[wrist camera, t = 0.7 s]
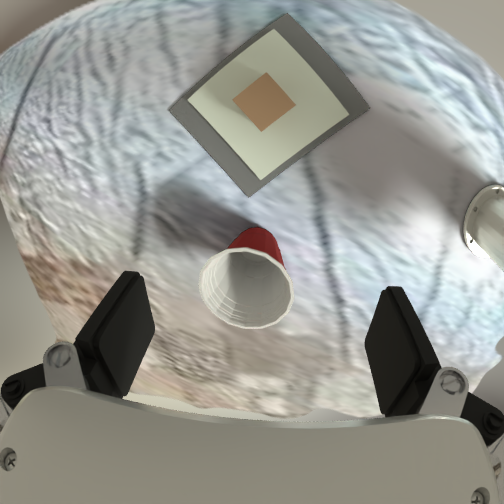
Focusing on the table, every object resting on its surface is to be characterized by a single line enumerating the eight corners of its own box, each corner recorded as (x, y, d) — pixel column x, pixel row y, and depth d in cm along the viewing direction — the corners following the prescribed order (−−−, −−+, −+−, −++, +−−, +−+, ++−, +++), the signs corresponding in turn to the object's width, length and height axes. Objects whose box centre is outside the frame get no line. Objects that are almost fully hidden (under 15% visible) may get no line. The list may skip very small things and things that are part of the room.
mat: (287, 14, 26) (287, 12, 26) (369, 108, 31) (370, 108, 30) (170, 110, 34) (169, 110, 33) (249, 196, 39) (248, 197, 38)
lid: (274, 30, 27) (271, 14, 21) (347, 114, 31) (361, 116, 25) (189, 99, 32) (169, 99, 26) (261, 178, 37) (255, 194, 31)
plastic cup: (235, 196, 39) (215, 233, 28) (306, 229, 40) (313, 276, 29) (208, 258, 44) (185, 308, 33) (272, 286, 45) (267, 341, 35)
